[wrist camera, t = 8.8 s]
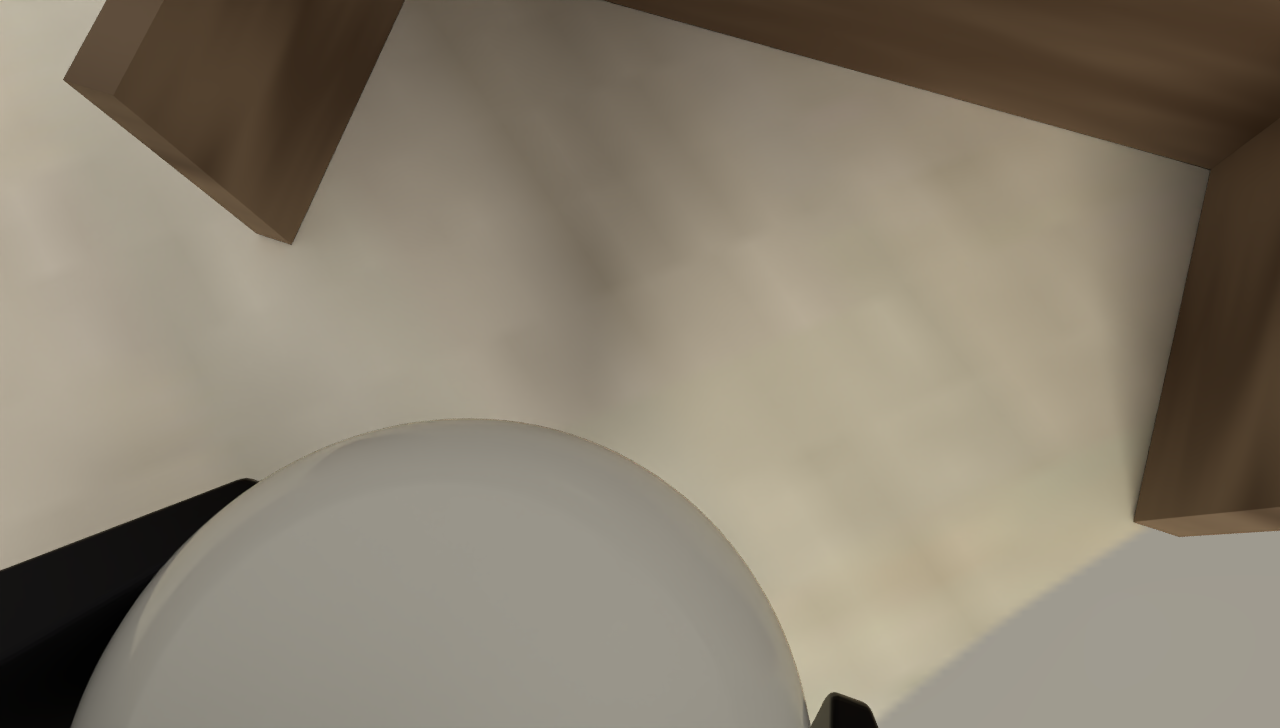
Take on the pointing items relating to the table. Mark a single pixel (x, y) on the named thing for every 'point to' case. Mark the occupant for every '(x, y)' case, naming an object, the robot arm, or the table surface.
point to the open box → (859, 40)
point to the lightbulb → (452, 599)
